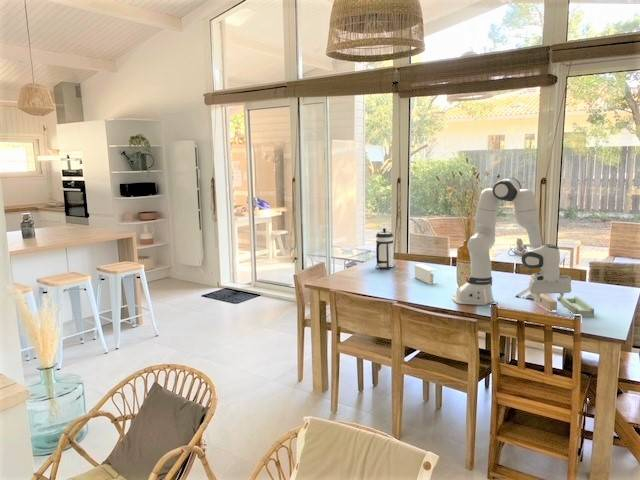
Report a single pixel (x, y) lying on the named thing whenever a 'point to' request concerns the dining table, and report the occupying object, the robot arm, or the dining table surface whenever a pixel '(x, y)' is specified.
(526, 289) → the crown molding
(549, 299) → the tan rectangular block
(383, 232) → the coffee press
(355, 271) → the dining table surface
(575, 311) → the green rectangular tray
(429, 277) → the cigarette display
